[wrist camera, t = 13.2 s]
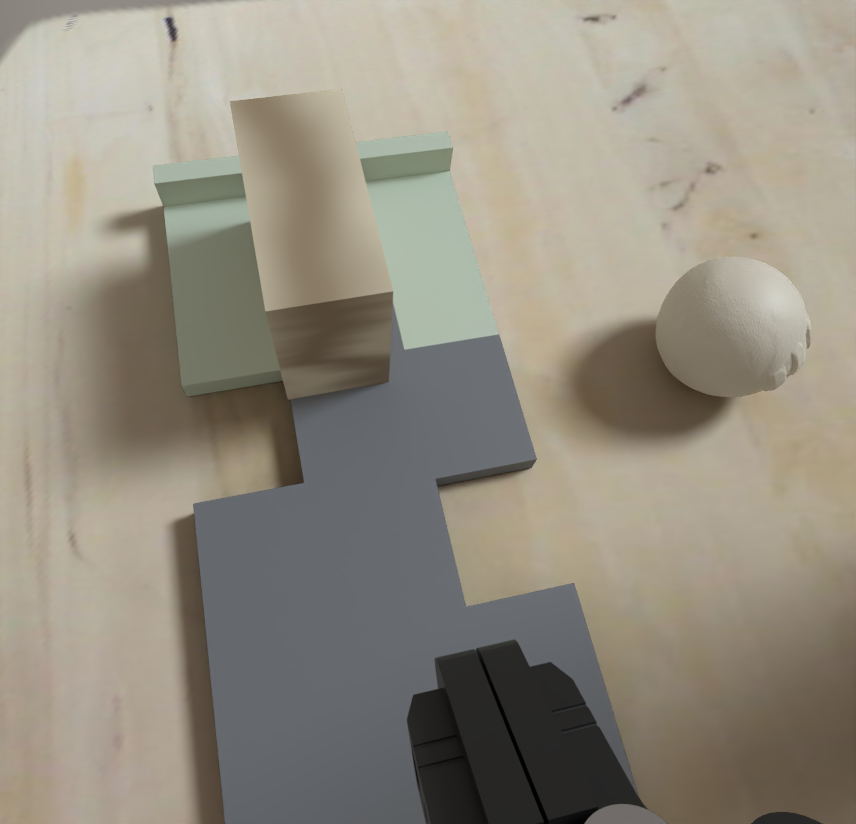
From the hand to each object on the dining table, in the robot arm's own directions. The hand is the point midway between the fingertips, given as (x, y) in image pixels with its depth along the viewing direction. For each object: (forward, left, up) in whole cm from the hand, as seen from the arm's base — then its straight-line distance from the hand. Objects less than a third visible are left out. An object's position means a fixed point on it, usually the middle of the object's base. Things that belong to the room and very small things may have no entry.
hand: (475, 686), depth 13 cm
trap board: (0, -8, -19) cm, 21 cm away
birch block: (+1, -21, -18) cm, 27 cm away
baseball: (-19, -14, -20) cm, 30 cm away
